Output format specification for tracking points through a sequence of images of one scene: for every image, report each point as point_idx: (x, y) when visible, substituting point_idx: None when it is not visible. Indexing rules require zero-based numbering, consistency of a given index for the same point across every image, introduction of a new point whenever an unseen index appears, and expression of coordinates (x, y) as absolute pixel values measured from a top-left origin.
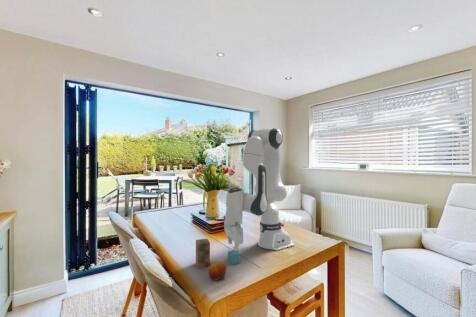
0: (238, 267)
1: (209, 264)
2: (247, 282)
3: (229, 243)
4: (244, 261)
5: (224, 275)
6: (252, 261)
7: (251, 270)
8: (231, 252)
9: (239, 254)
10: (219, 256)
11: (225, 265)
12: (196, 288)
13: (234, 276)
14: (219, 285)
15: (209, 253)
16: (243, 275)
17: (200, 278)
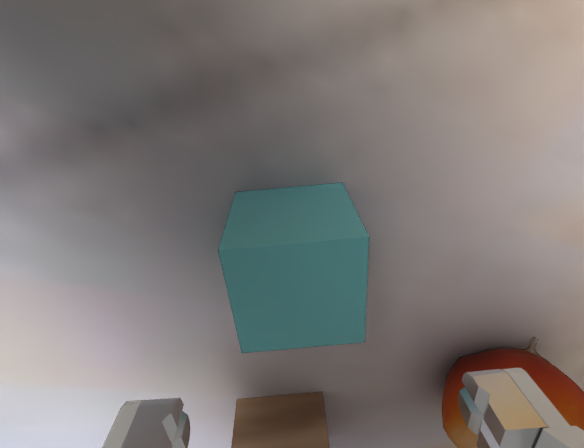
0: (422, 220)
1: (324, 409)
2: None
3: (186, 430)
4: (319, 123)
5: (548, 362)
6: (353, 9)
7: (550, 109)
8: (292, 326)
9: (365, 241)
10: (154, 326)
11: (574, 414)
12: None
13: (541, 279)
14: (573, 368)
15: None
16: (577, 213)
17: (441, 431)
